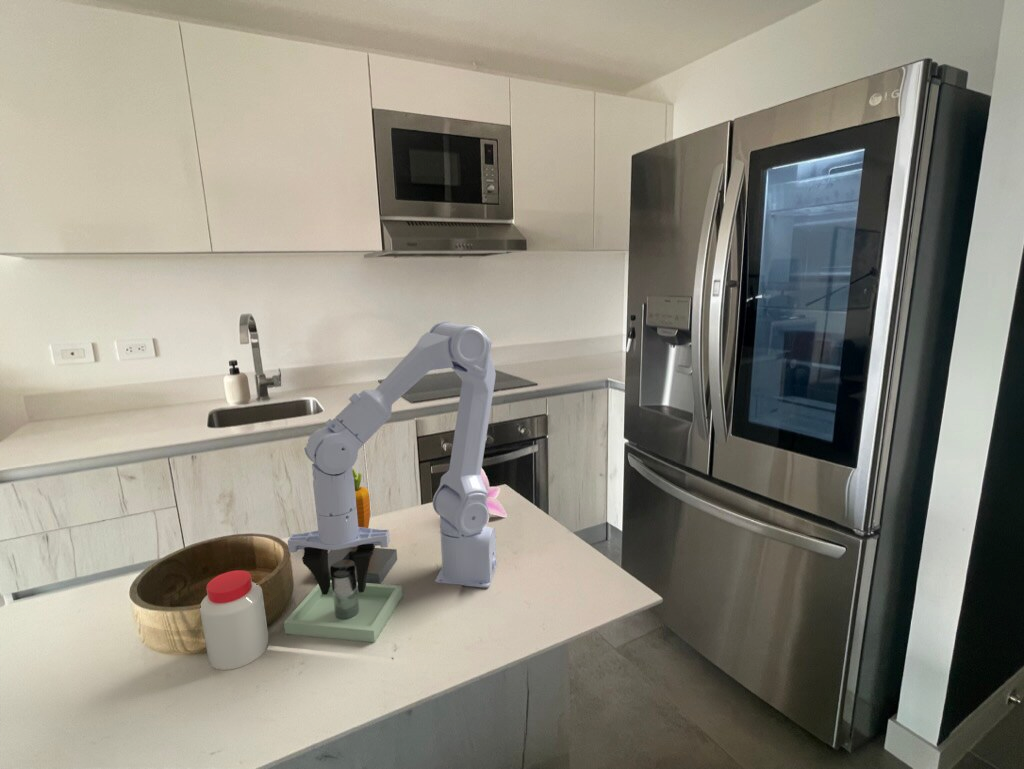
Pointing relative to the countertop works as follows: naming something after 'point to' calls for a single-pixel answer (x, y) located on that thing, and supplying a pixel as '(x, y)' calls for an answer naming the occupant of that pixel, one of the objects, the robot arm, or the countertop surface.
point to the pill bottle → (234, 620)
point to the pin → (344, 589)
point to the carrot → (361, 502)
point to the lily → (492, 498)
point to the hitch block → (377, 566)
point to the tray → (366, 626)
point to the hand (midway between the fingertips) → (344, 589)
